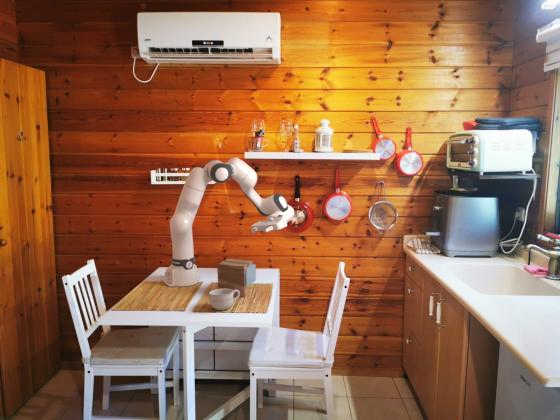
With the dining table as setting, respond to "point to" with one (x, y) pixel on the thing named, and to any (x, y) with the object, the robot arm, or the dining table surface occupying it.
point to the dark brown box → (233, 275)
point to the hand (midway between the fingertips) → (258, 231)
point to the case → (250, 274)
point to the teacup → (222, 298)
